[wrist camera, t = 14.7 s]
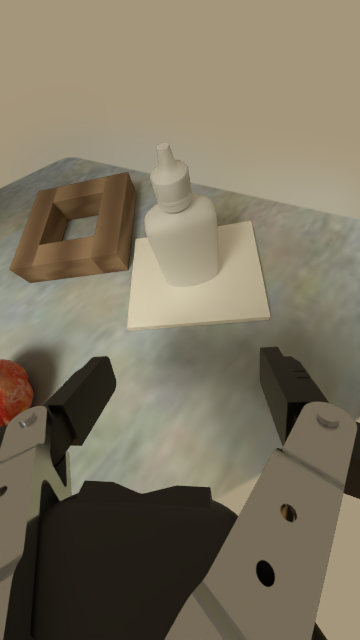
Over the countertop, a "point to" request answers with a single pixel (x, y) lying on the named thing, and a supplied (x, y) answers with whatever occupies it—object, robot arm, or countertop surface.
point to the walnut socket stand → (84, 253)
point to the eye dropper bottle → (181, 224)
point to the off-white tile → (200, 287)
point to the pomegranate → (13, 391)
